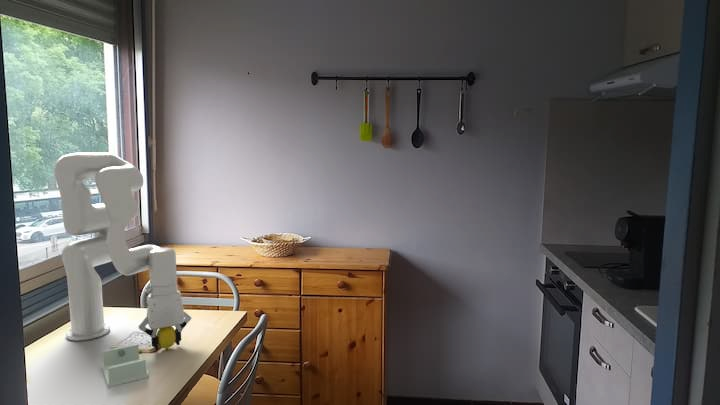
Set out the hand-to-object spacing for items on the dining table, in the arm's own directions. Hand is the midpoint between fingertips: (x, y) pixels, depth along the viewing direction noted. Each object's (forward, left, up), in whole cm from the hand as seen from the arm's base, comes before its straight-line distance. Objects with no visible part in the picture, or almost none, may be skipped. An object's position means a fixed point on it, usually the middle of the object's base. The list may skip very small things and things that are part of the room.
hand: (166, 345), depth 147 cm
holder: (+9, -13, -1) cm, 16 cm away
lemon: (0, 0, -1) cm, 1 cm away
